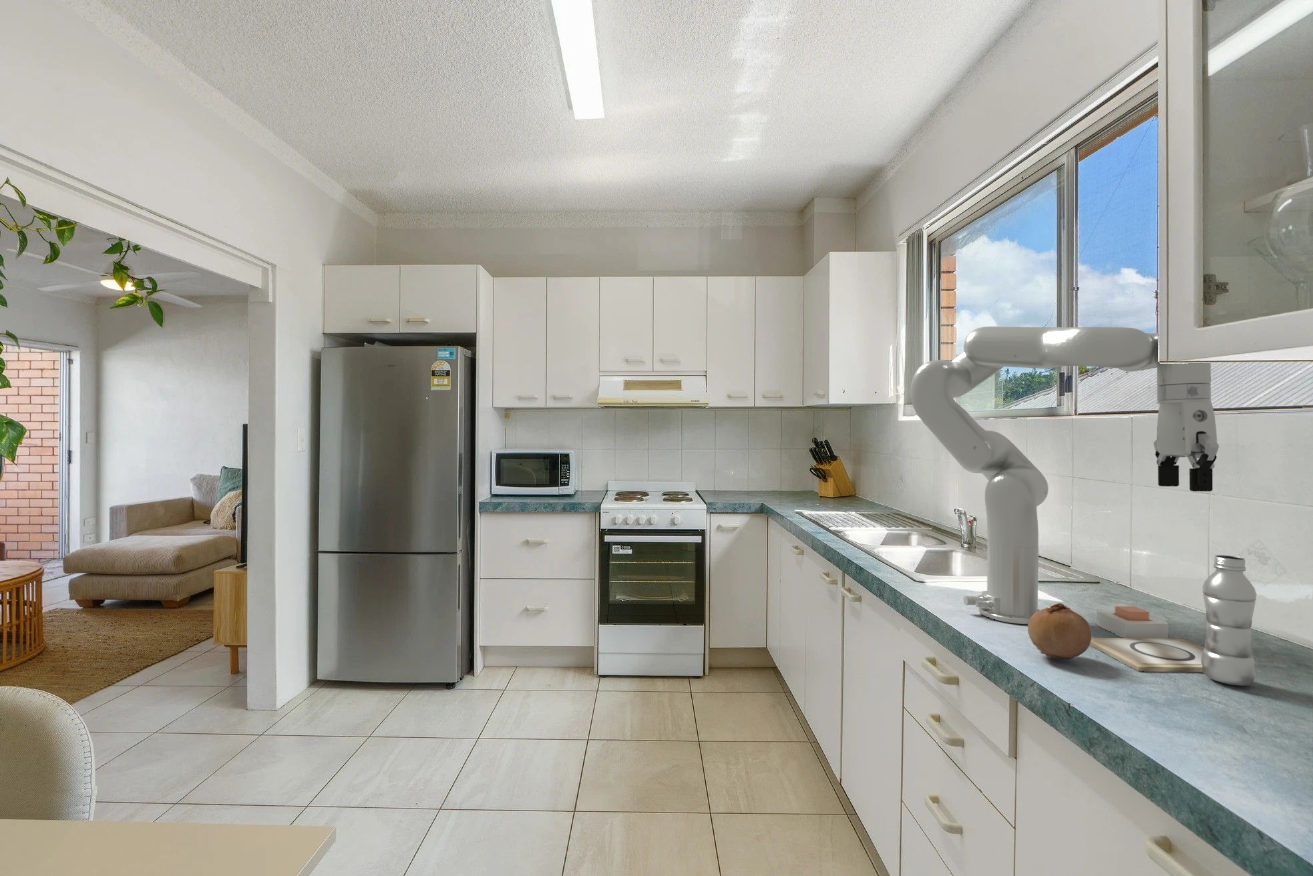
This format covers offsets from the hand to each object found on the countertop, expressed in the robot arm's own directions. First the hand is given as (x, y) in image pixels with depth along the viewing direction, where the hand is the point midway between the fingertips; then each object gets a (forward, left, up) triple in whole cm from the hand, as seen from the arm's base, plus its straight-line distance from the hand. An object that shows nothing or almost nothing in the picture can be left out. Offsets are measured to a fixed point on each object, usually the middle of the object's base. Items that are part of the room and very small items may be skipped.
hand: (1184, 488), depth 114 cm
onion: (-26, -6, -30) cm, 40 cm away
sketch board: (-7, -4, -29) cm, 30 cm away
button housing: (-3, +9, -29) cm, 31 cm away
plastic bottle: (-5, -15, -30) cm, 34 cm away
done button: (-3, +9, -27) cm, 29 cm away
